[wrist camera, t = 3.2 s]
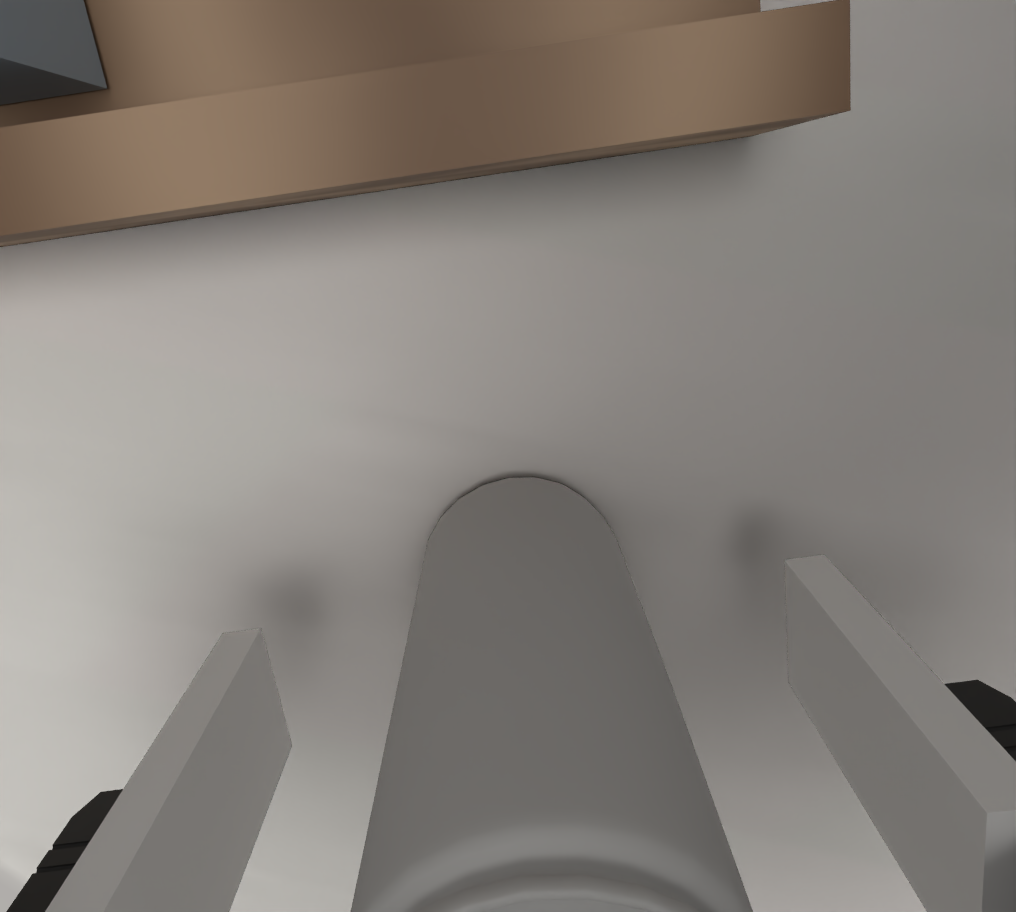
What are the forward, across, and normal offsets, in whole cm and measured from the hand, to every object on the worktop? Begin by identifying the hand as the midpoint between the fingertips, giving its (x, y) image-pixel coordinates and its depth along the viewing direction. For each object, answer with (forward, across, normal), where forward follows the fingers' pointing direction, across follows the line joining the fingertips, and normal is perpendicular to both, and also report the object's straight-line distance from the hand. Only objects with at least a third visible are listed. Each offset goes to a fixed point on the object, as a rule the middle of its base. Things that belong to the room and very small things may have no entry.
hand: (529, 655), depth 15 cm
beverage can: (+5, 0, 0) cm, 5 cm away
